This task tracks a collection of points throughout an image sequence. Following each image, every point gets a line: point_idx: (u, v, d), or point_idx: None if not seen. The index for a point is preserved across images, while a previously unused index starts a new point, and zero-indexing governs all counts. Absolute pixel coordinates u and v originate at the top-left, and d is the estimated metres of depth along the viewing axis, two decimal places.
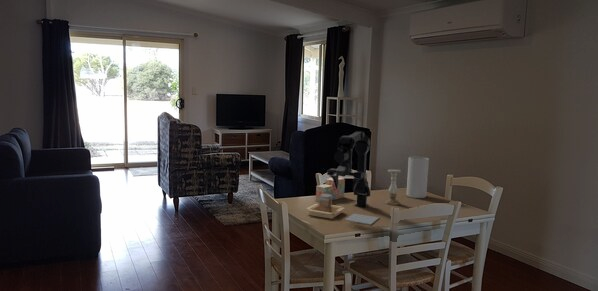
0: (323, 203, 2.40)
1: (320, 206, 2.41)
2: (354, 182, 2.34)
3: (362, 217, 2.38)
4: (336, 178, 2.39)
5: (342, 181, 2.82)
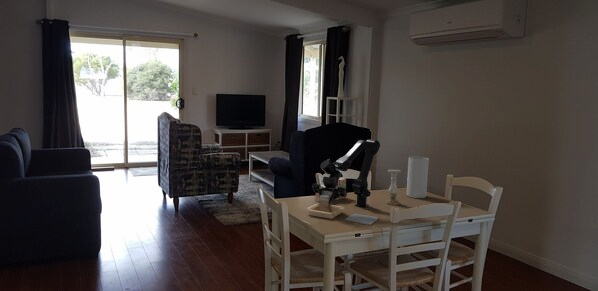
0: (323, 203, 2.40)
1: (320, 206, 2.41)
2: (333, 195, 2.41)
3: (362, 217, 2.38)
4: (322, 193, 2.45)
5: (343, 181, 2.81)
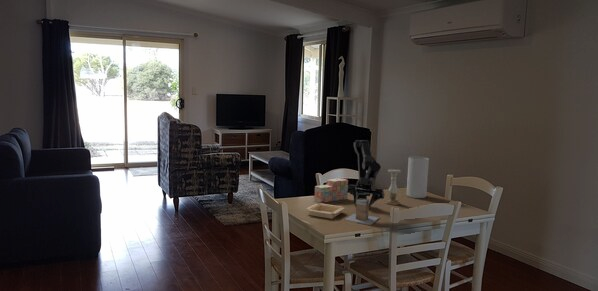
0: (360, 208, 2.33)
1: (356, 210, 2.34)
2: (373, 197, 2.33)
3: None
4: (356, 195, 2.38)
5: (345, 182, 2.78)
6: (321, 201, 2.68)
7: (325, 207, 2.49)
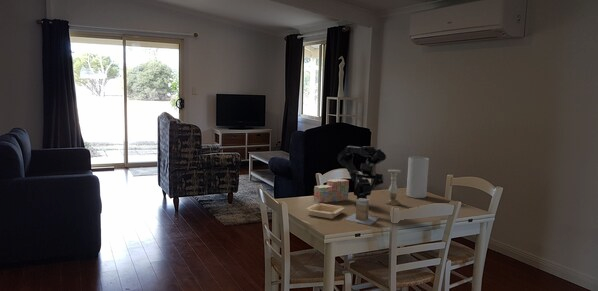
0: (360, 208, 2.33)
1: (356, 210, 2.34)
2: (374, 182, 2.44)
3: None
4: (356, 180, 2.50)
5: (345, 183, 2.76)
6: (320, 201, 2.68)
7: (325, 207, 2.49)
